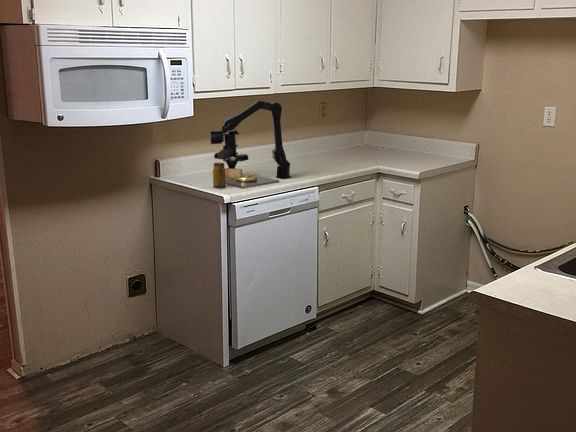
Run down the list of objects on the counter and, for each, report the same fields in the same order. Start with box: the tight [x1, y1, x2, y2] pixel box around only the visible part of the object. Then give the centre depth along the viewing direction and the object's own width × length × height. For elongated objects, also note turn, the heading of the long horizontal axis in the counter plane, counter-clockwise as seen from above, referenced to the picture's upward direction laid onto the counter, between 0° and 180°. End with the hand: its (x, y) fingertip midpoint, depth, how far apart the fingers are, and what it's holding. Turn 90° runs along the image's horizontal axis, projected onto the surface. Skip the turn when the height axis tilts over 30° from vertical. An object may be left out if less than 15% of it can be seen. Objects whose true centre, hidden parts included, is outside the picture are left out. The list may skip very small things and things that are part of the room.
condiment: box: [210, 162, 231, 190], centre depth 313 cm, size 7×8×12 cm
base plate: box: [225, 173, 280, 189], centre depth 327 cm, size 24×24×1 cm
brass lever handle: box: [224, 167, 258, 181], centre depth 327 cm, size 12×16×5 cm
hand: (231, 172), depth 333 cm, fingers closed
